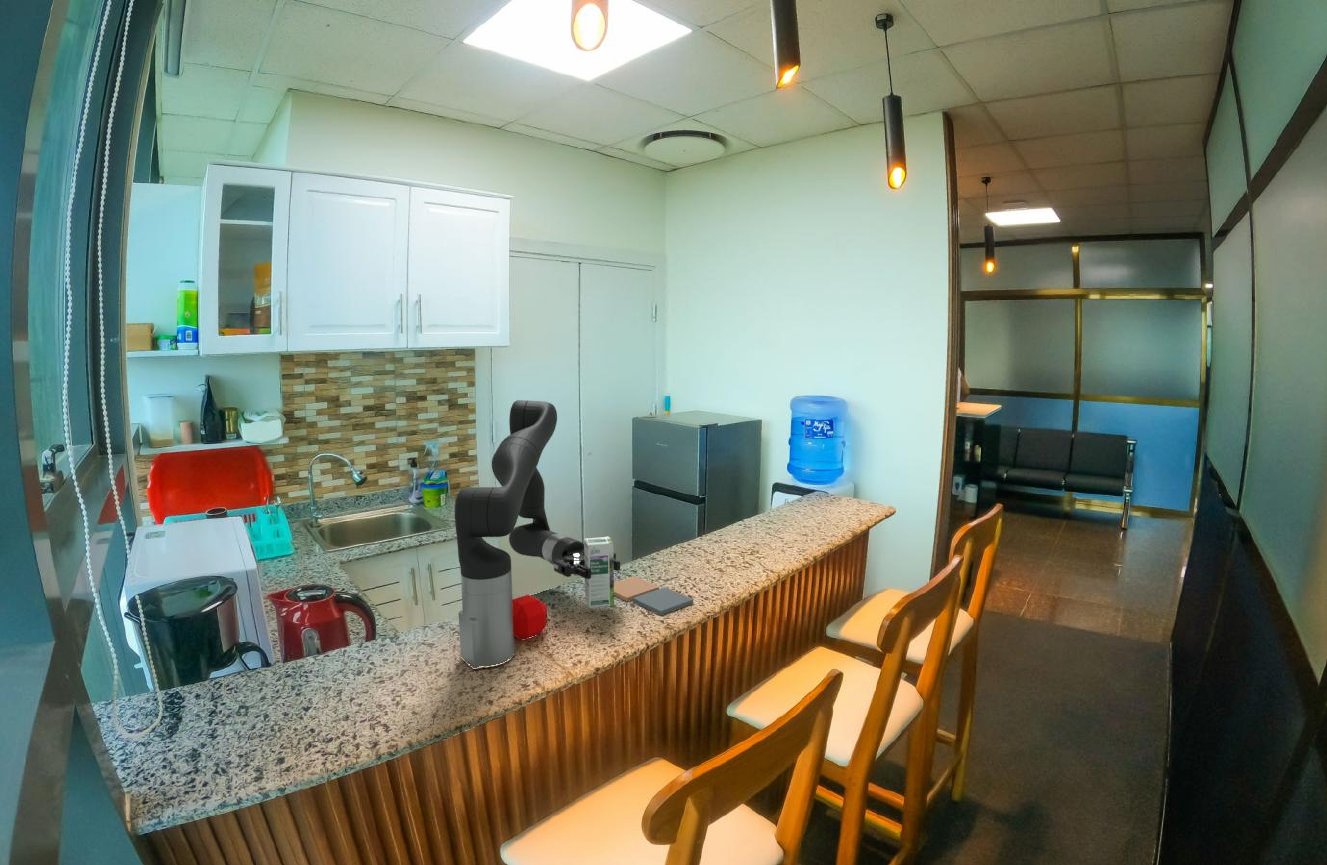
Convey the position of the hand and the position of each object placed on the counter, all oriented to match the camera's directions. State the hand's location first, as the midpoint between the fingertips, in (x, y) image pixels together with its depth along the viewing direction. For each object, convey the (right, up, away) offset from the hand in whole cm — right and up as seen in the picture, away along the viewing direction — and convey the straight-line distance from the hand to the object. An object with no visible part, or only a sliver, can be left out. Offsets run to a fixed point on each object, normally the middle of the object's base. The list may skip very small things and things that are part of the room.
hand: (604, 570), depth 137 cm
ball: (-15, -12, -8) cm, 21 cm away
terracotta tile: (+5, -8, +16) cm, 19 cm away
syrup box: (-1, -8, +3) cm, 9 cm away
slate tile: (+13, -9, +8) cm, 18 cm away
